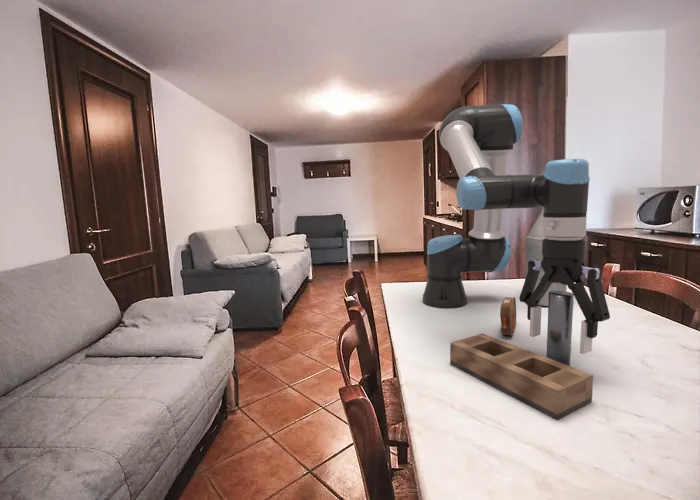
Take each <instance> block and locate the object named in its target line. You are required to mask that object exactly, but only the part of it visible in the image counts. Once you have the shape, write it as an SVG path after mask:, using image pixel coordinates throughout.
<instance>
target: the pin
mask: <svg viewBox="0 0 700 500" xmlns="http://www.w3.org/2000/svg"><path fill="white" fill-rule="evenodd" d="M574 298H575V297H574V295H573V293H572V292H570V291H567V290H566V291H550V292H549V304H548V306H547V308H548V309H547V312H548V313H547V333H546V356H545V357H547V358H549V359H552V360H555V361H557V362H560V363H562V364H565V365H568V366H570V367H571V359H572V358H571V356H572V355H571V354H572V353H571V352H572V351H571V350H572V339H573V338H572V337H573V336H572V334H573V332H572V331H573V318H574V317H573V316H574V315H573V313H574Z"/></svg>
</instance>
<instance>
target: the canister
mask: <svg viewBox="0 0 700 500" xmlns="http://www.w3.org/2000/svg"><path fill="white" fill-rule="evenodd" d="M538 209H539V210H540V211H541V212H540V213H539V214H538V217H537V218H536V220H535V223H534V224H533V226H532V227H531V230H530V231H529V233H528V234H527V236H526V237H525V238H526V244H525V250H526V251H525V266H524V267H525V269H524V270H525V271H524V280H525V279H526V276H527V273H528V262H529V261H532V260H539V261H542V260H543V255H542V240H543V239H545V238H546V236H544V235H543V217H544V216H543V213H544V208H538ZM544 274H545V272H544V270H543V269H542V268H541V270H540V273H539V276H538V279H537V282H536V285H535V288H534V291H535V289H536V288H537V286H538V285H539V283H540V280H541V278H542V277H543V275H544ZM567 288H568V286H567V285H564V284H561V283H552V284H551V286H550V287H549V289H548V290H547V292H546V293H545V294H544V296H543V297H542V299H541V300H540V302H539V303H540V304H538V305H537V306H543V307H544V306H545V307H548V304H549V292H550V291H566V292H567ZM534 291H533V292H534Z"/></svg>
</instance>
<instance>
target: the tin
mask: <svg viewBox="0 0 700 500" xmlns="http://www.w3.org/2000/svg"><path fill="white" fill-rule="evenodd" d="M499 310H500V311H499V317H500V318H499V319H500V325H501V327H500V332H501V335H502V336H510V337H513V336H514V334H515V330H516V326H517V302H516V297H508V296H507V297H504V298H503V300H502V303H501V305H500V309H499Z"/></svg>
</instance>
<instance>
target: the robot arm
mask: <svg viewBox="0 0 700 500" xmlns="http://www.w3.org/2000/svg"><path fill="white" fill-rule="evenodd" d="M522 117H523V116H522V114H521V111H520V109H519V108H518V107H517V106H516V105H515V104H508V103H506V104H505V103H504V104H503V103H499V104H487V105H486V104H484V105H483V104H482V105H464V106H461V107H457V108H456V109H454V110H453V111H451V112H450V113H449V114H448V115H446V117H445V118H444V119H443V121H442V122H441V124H440V125H439V126H440V127H439V130H438V139H439V142H440V145H441V147H442V148H443V149H444V150H445V151H446V152H448V155H449V157H450V159H451V161H452V163H453V166H454V169H455V170H456V173H457V175H458V178H459V180H458V182H457V184H456V185H457V186H456V191H455V192H456V199H457V200H456V203H457V206H458V207H459V208H460V209H462V210H474V214H473V215H474V218H473V228H472V229H471V230H470V231H469V232H468V236H467V238H464V237H463V236H462V235H461V234H447V235H441V236H437V237H434V238H431V239H429V241H428V242H427V250H426V254H427V281H426V285H425V288H424V292H423V293H422V303H423V304H424V305H426V306H430V307H434V308H443V309H451V308H452V309H454V308H459V307H463V306H466V305H467V303H468V297H467V296H468V295H467V294H466V292H465V287H464V284H463V278H462V277H463V273H494V272H495V273H496V272H501V271H503V270H504V269H505V268H506V267H507V266H508V264H509V262H510V259H511V253H512V250H511V243H510V240H509V239H508V238H506V234H505V233H504V231H503V230H502V229H501V228H502V219H503V218H502V216H503V210H504V209H535V208H537V209H539V208H541V209H543V208H544V213H543V216H544V217H543V235H544V236H546V238H545V239H543V240H542V255H543V260H542V261H539V260H532V261H529V262H528V273H527V276H526V279H525V278H524V283H523V285H522V289H521V292H520V296H519V299H518V300H519V301H520V303H524V304H525V305H526V306H527V315H526V317H527V320H529V337H532V338H535V337H538V336H540V335H541V330H542V327H541V326H542V305H538V304H540V303H539V302H540V300H541V299H542V297H543V296H544V294H545V293H546V292H547V290H548V289H549V287H550V286H551V284H552V283H561V284H564V285H567V288H568V289H569V290H570V291H571V293H573V295H574V298H575V300H576V302H577V304H578V307H579V308H580V311H581V312H582V314H583V317H584V318H585V319H583V320H581V324H580V326H581V327H580V342H579V353H580V354H582V355H586V354H587V353H590V352H592V350H593V349H592V348H593V339H594V338H596V337H597V336H598V327H599V323H601V322H604V321H607V320H609V319H610V318H611V314H610V310H609V307H608V303H607V299H606V294H605V291H604V288H603V284H602V273H603V271H602V268H601V267H594V268H593V267H588V266H586V265H585V262H584V261H585V256H586V255H585V254H586V240H585V239H584V237H586V236H587V214H588V213H587V212H588V201H589V200H588V199H589V189H590V188H589V187H590V180H591V179H590V176H589V175H590V170H589V169H590V167H589V165H590V163H589V161H588V160H586V159H584V158H565V159H556V160H550V161H548V162H547V163H546V165H545V167H544V172H543V173H533V174H511V175H510V174H508V175H507V174H506V173H507V171H506V170H507V162H508V161H507V159H508V155H510V153H511V152H512V151H514V145H516V144H518V143H519V142H520V141H521V140H522V138H521V137H522V136H523V130H524V127H523V126H524V123H523V118H522ZM541 268H542V269H543V270H544V272H545V274H544V275H543V277H542V278H541V280H540V283H539V285H538V286H537V288H536V289H535V291H534V288H535V285H536V282H537V279H538V276H539V273H540V270H541ZM583 274H584V277H585V279H586V284H587V287H588V290H589V293H588V292H587V289H586V287H585V283H584V281H583V278H582V277H581V276H582V275H583ZM533 291H534V292H533ZM589 295H590V296H589Z"/></svg>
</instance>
